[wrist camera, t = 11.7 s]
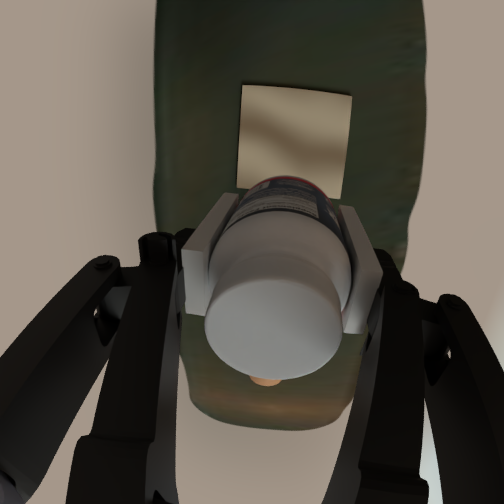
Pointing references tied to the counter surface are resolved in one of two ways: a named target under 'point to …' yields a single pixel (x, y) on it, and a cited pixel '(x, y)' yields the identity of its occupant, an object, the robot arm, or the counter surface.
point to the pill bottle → (278, 281)
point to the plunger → (264, 381)
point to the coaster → (293, 136)
